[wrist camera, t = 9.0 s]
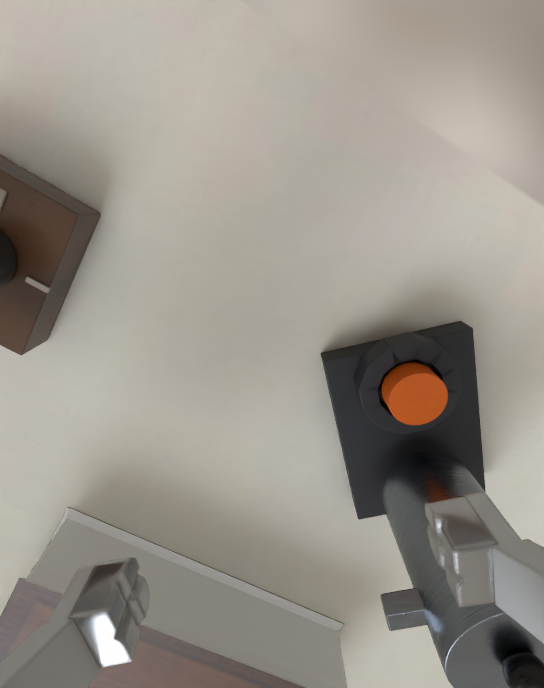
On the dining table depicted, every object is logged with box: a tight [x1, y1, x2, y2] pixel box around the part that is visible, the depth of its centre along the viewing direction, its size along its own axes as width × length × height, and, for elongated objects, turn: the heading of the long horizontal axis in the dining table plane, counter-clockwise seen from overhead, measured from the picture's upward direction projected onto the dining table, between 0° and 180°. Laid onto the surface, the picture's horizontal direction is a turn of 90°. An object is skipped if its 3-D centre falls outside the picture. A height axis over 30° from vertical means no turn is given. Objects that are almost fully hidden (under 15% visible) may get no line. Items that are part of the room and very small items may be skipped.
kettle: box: [380, 451, 544, 688], centre depth 22 cm, size 8×8×12 cm
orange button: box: [381, 362, 448, 425], centre depth 24 cm, size 4×4×2 cm
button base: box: [321, 321, 485, 519], centre depth 28 cm, size 15×10×4 cm
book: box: [0, 508, 347, 688], centre depth 35 cm, size 24×28×6 cm
